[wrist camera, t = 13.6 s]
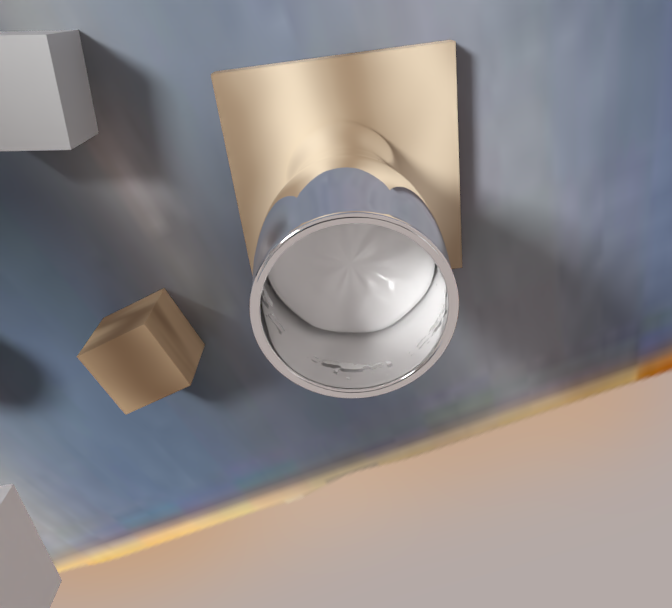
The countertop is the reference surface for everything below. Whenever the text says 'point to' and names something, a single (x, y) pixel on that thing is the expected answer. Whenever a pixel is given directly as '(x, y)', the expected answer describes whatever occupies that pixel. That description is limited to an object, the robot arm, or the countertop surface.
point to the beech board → (345, 106)
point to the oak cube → (143, 352)
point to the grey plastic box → (44, 91)
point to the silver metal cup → (351, 270)
